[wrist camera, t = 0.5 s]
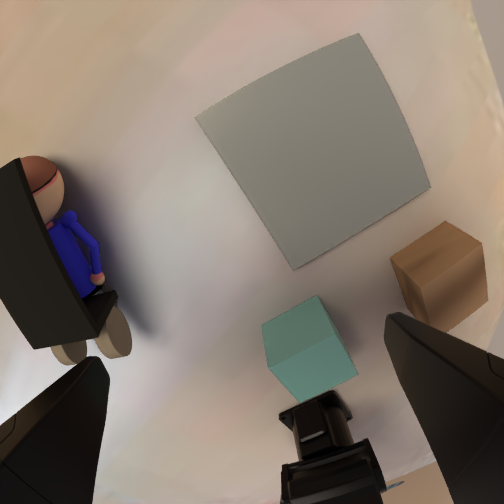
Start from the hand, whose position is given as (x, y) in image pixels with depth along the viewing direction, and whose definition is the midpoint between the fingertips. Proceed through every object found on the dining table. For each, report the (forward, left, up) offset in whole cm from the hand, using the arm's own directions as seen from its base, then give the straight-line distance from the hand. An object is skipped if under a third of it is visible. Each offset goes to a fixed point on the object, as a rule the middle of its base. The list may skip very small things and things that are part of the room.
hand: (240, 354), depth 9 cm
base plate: (+1, -8, -13) cm, 15 cm away
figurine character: (+5, +11, -14) cm, 18 cm away
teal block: (-11, 0, -13) cm, 17 cm away
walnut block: (-12, -12, -13) cm, 21 cm away
